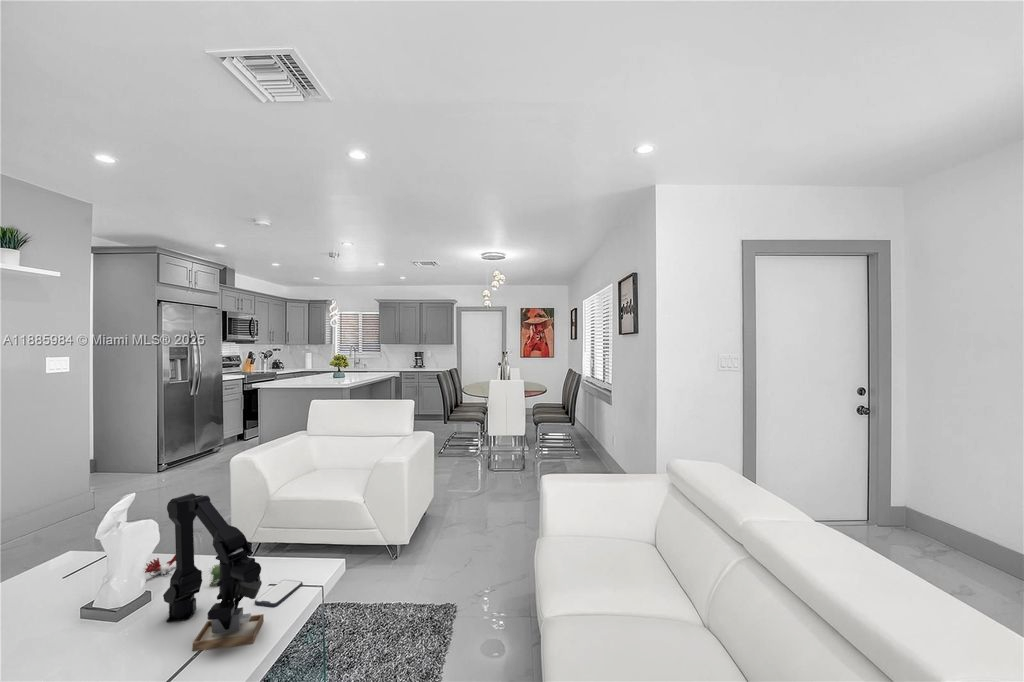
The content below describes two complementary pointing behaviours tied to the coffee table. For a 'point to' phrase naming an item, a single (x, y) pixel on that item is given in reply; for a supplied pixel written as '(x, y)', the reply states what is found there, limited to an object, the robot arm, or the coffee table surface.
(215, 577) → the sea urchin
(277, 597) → the phone case
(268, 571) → the coffee table surface
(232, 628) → the plug
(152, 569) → the figurine
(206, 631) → the tray
